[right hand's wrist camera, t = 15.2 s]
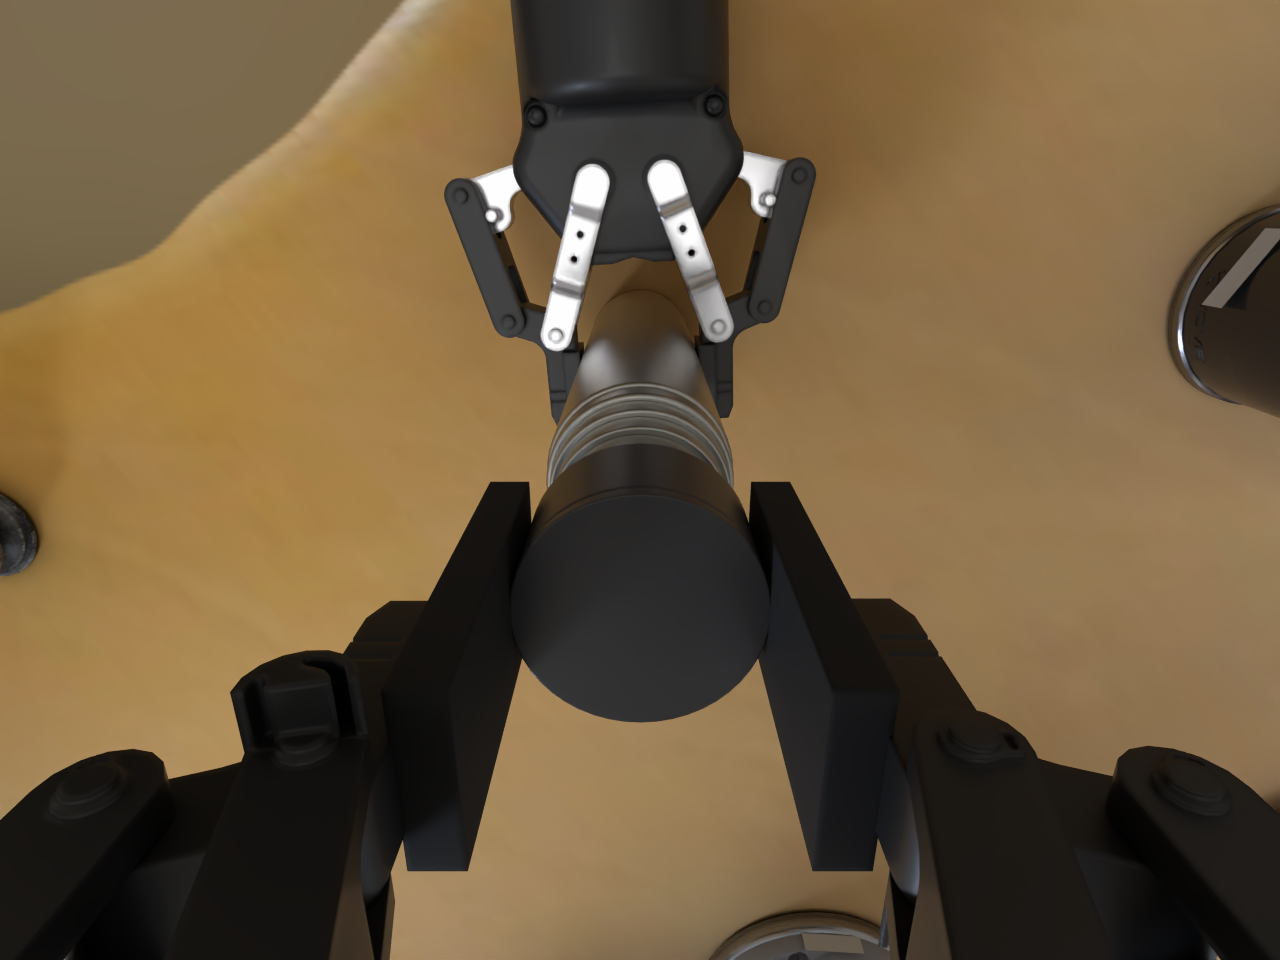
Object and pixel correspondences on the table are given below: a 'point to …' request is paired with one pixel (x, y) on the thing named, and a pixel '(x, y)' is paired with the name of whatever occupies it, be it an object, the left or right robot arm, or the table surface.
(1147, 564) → the table surface
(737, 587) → the cap
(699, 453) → the bottle
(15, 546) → the grey metal turned piece
